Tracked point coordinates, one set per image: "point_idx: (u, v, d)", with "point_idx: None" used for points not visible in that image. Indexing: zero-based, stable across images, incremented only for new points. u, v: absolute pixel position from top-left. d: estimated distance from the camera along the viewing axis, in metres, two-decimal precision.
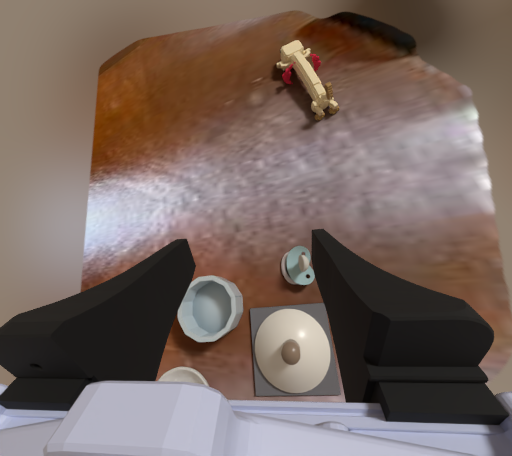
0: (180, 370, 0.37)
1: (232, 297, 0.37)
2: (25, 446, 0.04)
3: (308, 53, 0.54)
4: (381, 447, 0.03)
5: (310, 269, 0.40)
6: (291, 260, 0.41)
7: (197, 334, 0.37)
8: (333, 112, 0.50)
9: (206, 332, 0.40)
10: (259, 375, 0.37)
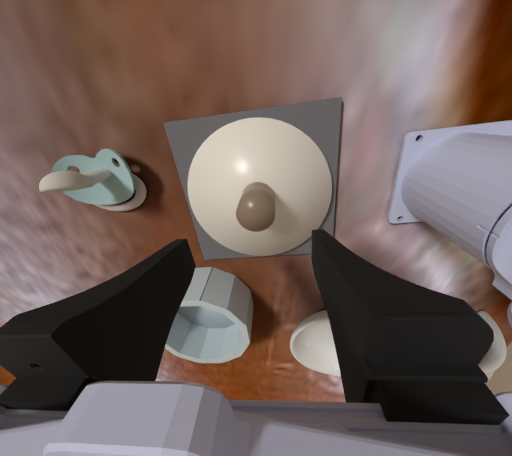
0: (293, 347, 0.27)
1: None
2: (25, 446, 0.04)
3: None
4: (381, 447, 0.03)
5: (101, 155, 0.18)
6: (97, 194, 0.20)
7: (241, 340, 0.24)
8: None
9: None
10: (303, 247, 0.22)
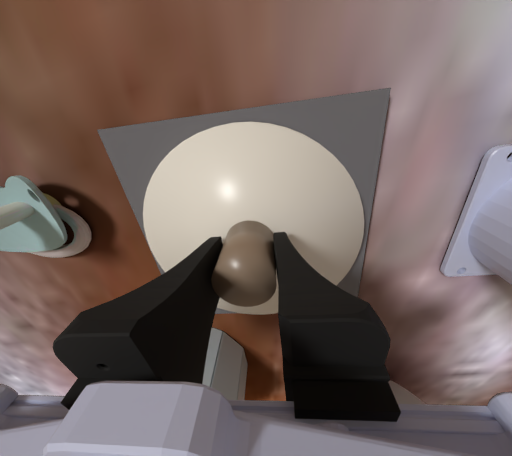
0: None
1: None
2: (25, 446, 0.04)
3: None
4: (381, 447, 0.03)
5: (12, 185, 0.12)
6: (18, 238, 0.14)
7: None
8: None
9: None
10: None
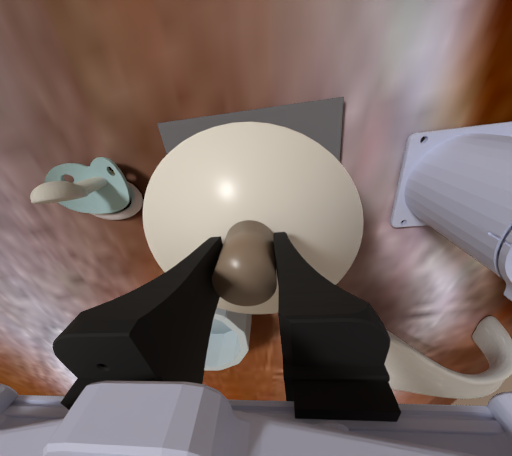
0: None
1: None
2: (25, 446, 0.04)
3: None
4: (381, 447, 0.03)
5: (96, 164, 0.18)
6: (92, 203, 0.19)
7: (239, 347, 0.23)
8: None
9: None
10: None
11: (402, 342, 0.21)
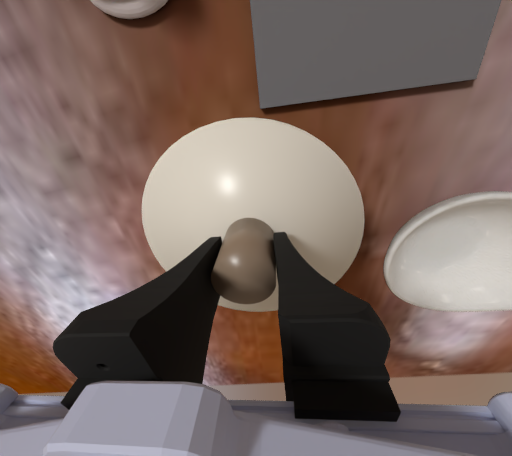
0: (391, 264, 0.18)
1: None
2: (25, 446, 0.04)
3: None
4: (382, 447, 0.03)
5: None
6: None
7: None
8: None
9: None
10: (429, 69, 0.13)
11: None
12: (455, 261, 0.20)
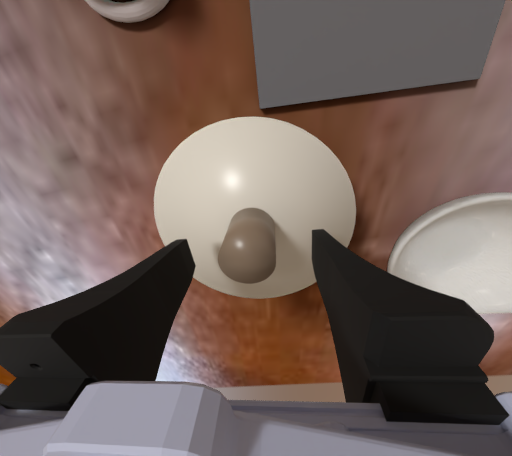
0: (395, 266, 0.18)
1: None
2: (25, 446, 0.04)
3: None
4: (381, 447, 0.03)
5: None
6: None
7: None
8: None
9: None
10: (432, 68, 0.13)
11: None
12: (460, 262, 0.20)
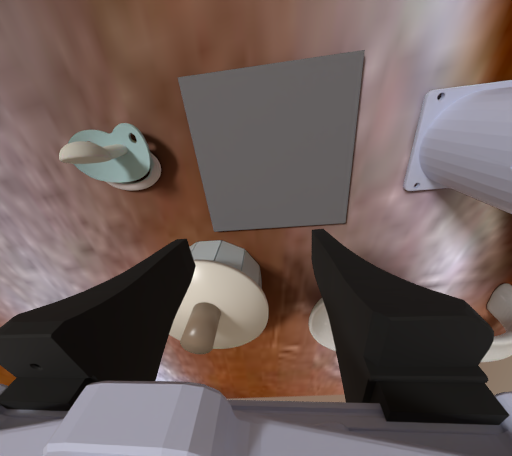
0: (312, 326, 0.26)
1: None
2: (25, 446, 0.04)
3: None
4: (381, 447, 0.03)
5: (118, 131, 0.18)
6: (111, 172, 0.20)
7: None
8: None
9: None
10: (316, 217, 0.21)
11: None
12: None
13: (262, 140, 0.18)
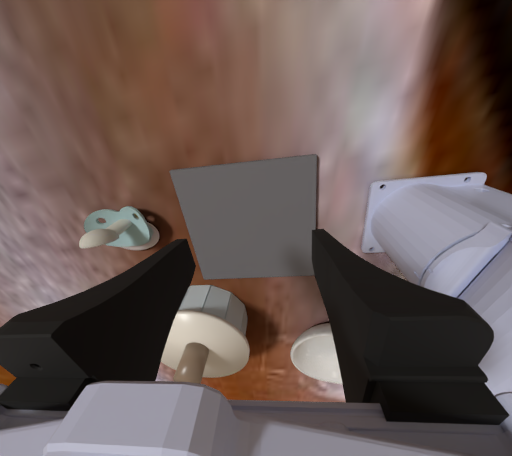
0: (294, 358, 0.30)
1: None
2: (25, 446, 0.04)
3: None
4: (381, 447, 0.03)
5: (124, 210, 0.22)
6: (119, 238, 0.24)
7: None
8: None
9: None
10: (289, 270, 0.25)
11: None
12: None
13: (239, 214, 0.22)
